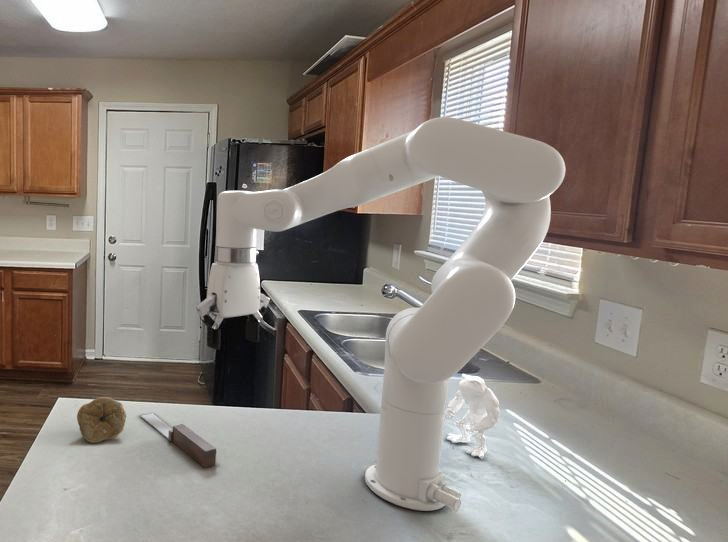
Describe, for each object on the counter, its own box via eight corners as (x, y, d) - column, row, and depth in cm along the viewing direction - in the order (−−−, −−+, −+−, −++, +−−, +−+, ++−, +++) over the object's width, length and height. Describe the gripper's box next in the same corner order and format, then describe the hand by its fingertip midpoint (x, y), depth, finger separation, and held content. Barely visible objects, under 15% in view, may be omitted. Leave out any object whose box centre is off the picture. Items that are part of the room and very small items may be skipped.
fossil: (71, 405, 101) (117, 389, 105) (71, 414, 104) (114, 398, 108) (86, 447, 96) (133, 429, 100) (85, 455, 99) (131, 436, 103)
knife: (217, 464, 92) (218, 448, 91) (203, 468, 90) (204, 452, 90) (152, 414, 112) (153, 400, 111) (140, 417, 110) (140, 403, 110)
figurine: (505, 461, 96) (513, 387, 95) (473, 462, 95) (482, 387, 94) (463, 434, 107) (470, 367, 105) (434, 435, 106) (441, 367, 105)
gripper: (255, 252, 102) (253, 334, 103) (187, 256, 93) (185, 345, 94) (283, 256, 95) (280, 343, 97) (212, 260, 86) (210, 356, 88)
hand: (233, 344), depth 96 cm, fingers open, 9 cm apart
